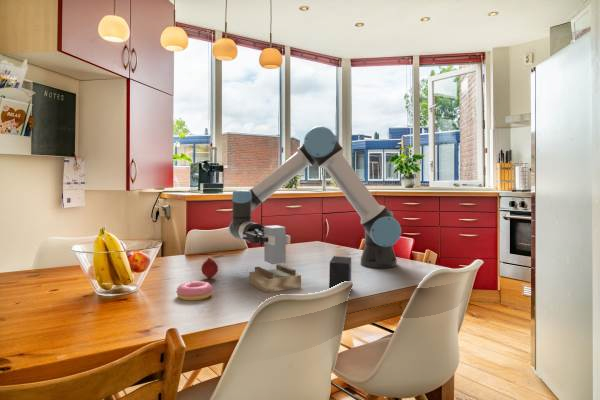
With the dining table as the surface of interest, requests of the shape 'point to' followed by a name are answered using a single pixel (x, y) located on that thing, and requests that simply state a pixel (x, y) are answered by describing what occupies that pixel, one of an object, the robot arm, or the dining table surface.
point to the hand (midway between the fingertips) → (281, 240)
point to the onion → (209, 268)
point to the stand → (275, 278)
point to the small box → (339, 270)
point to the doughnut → (194, 290)
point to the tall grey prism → (277, 251)
